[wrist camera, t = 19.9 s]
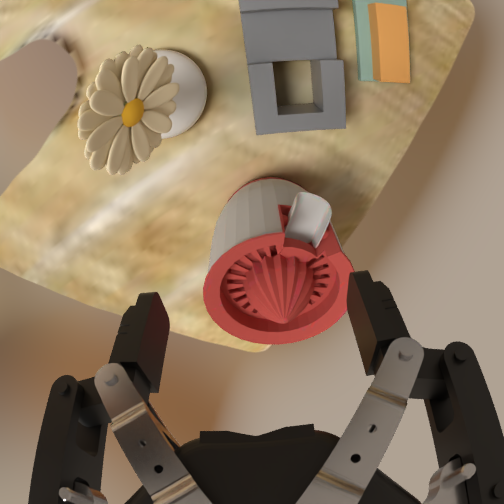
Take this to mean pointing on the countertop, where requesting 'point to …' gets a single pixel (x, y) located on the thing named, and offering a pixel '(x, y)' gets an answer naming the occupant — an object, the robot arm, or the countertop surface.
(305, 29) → the kitting block
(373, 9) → the plank
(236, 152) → the countertop surface
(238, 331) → the citrus juicer
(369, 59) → the mat
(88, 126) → the flower in vase
